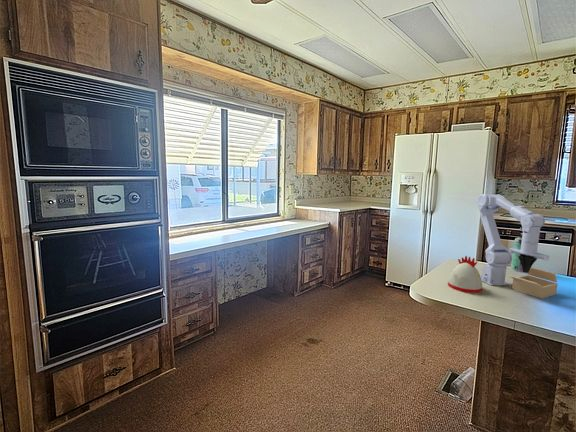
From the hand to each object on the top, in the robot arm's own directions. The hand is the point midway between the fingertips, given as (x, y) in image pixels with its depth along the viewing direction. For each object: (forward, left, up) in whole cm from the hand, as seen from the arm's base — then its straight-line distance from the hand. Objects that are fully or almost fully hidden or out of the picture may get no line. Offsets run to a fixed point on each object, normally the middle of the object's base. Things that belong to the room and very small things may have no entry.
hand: (525, 272), depth 138 cm
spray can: (+28, +33, -11) cm, 45 cm away
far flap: (+13, +5, -3) cm, 14 cm away
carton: (+9, +3, -10) cm, 14 cm away
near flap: (+1, 0, -4) cm, 4 cm away
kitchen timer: (-20, +10, -11) cm, 25 cm away
